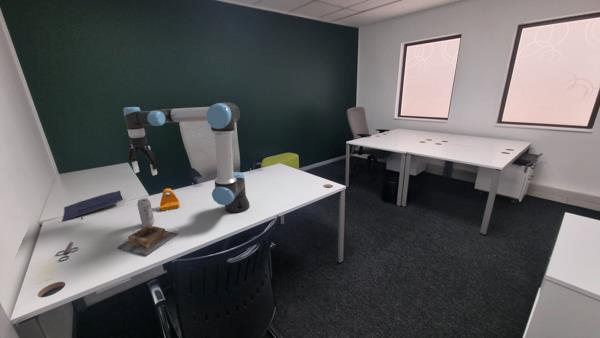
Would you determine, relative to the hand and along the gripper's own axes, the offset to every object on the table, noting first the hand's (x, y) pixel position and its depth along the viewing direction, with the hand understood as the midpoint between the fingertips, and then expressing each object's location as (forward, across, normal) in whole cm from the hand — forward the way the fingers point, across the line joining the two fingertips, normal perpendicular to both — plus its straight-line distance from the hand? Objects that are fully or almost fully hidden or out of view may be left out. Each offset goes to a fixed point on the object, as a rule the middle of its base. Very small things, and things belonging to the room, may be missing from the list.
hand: (145, 173), depth 138 cm
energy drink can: (+26, -7, +10) cm, 29 cm away
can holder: (+26, -21, +22) cm, 40 cm away
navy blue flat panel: (+26, +46, +4) cm, 53 cm away
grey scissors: (+27, +9, +39) cm, 48 cm away
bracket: (+26, -2, -10) cm, 28 cm away
